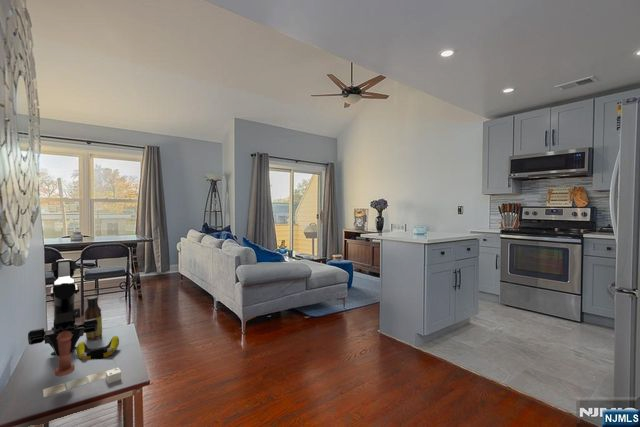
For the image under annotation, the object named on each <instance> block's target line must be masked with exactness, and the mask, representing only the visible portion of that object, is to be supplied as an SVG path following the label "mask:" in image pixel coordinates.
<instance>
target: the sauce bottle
mask: <svg viewBox="0 0 640 427" xmlns="http://www.w3.org/2000/svg"><path fill="white" fill-rule="evenodd" d="M86 300H87V308H86V309H85V311H84V314H85V315H84V320H90V319H97V323H98V325H97V331H95V332H90V333H85V337H86V340H87V341H94V340H95V341H96V340H99V339H100V338H102V336H103V321H102V308H100V307H99V303H98V300H99V297H98V296H96V295H94V296H92V295H91V296H90V297H87V298H86Z"/></svg>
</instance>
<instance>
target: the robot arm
mask: <svg viewBox="0 0 640 427" xmlns="http://www.w3.org/2000/svg"><path fill="white" fill-rule="evenodd" d="M50 268H51V269H50V270H51V271H50V272H51V274H53V278H54V279H55V280H54V281H53V286H51V287H50V298H53V303H54V304H53V306H54V309H53V310H54V311H53V313H54V314H53V315H54V316H53V318H54V319H53V326H51V329H48V330H45V328H44V327H42V328H36V329H32V330H29V332H28V333H27V341H28V345H37V344H41V343H43V342H44V344H49V346H50V347H51V348H52V350H53V351H52V352H51V353H50V355H53V356H54V355H55V356H56V357H58V340H57V336H58V334H59V333H60V332H62V331H65V330H68V331H70V332H71V333H72V338H71V354H73V353H74V350H77V343H78V341H79V340H80V338H81V337H83V336H84V333H85V334H86V333H90V332H95V331H97V325H98V323H97V319H90V320H85V319H84V320H83V324H78V323H77V322H76V319H80V318H81V308H75V298H76V296H75V295H77V294H78V293H79V292H80V287H79V286H78V284H77V283H76V282H75V279H74V278H73V276H75V275H74V274H75V272H76V271H77V261H75V260H72V259H71V258H66V259H65V258H64V259H63V258H62V259H57V260H56V261H54V262H52V263H51V266H50Z"/></svg>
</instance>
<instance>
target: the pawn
mask: <svg viewBox="0 0 640 427" xmlns="http://www.w3.org/2000/svg"><path fill="white" fill-rule="evenodd" d="M71 338H72V333H71V332H70V331H68V330H65V331H62V332H60V333H59V334H58V336H57V340H58V356H57V357H58V360H57V361H58V363H57V364H58V365H57V366H58V367H56V368H55V369H54V376H56V377H63V376H64V377H65V376H67V375H69V374H70V375H71V374H72V373H73V372H74V371H75V369H76V368H75V364H74V363H72V353H71Z"/></svg>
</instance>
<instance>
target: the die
mask: <svg viewBox="0 0 640 427" xmlns="http://www.w3.org/2000/svg"><path fill="white" fill-rule="evenodd" d="M105 372H106V378H105V381H106V383H107V385H109V384H112V383H115V382H118V381H121V380H122V371H121V369H120V367H115V368H112V369H109V370H105Z"/></svg>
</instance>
